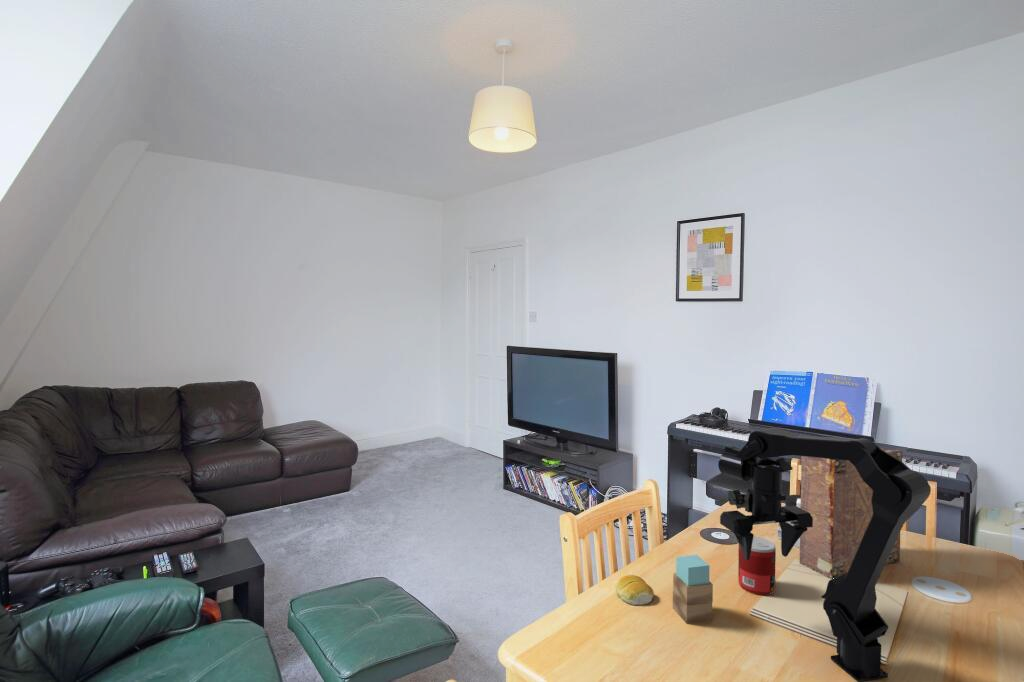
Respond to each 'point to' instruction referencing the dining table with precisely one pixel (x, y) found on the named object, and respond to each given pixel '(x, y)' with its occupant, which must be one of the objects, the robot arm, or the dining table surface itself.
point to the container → (790, 501)
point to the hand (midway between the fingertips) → (765, 557)
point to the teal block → (692, 570)
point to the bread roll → (634, 590)
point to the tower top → (693, 592)
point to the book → (836, 514)
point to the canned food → (758, 567)
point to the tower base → (692, 610)
